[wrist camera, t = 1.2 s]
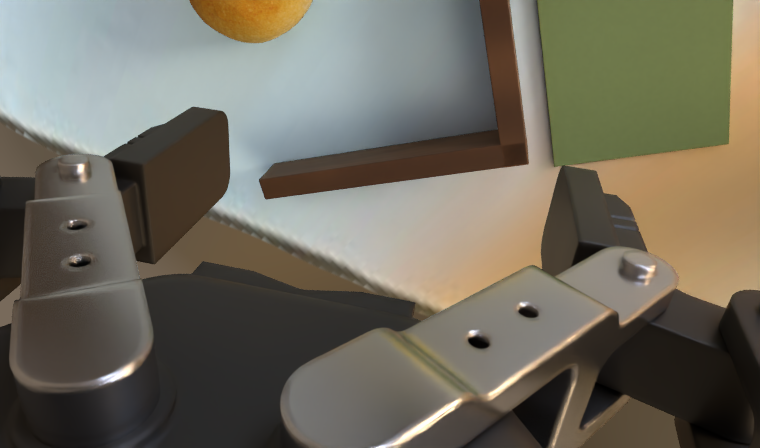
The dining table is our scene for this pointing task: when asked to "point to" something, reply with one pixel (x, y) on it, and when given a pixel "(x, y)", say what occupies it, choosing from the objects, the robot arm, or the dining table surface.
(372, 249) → the dining table surface
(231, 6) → the bread roll
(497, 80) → the corner guide
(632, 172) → the dining table surface
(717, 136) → the cloth
